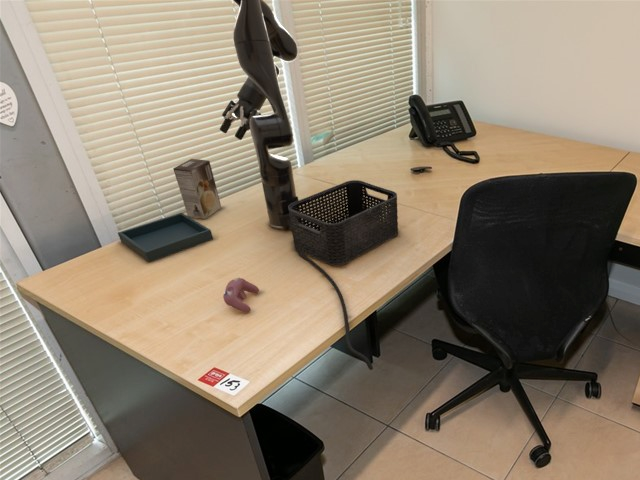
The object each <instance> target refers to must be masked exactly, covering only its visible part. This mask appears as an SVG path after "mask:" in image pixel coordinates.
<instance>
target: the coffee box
mask: <svg viewBox="0 0 640 480" xmlns="http://www.w3.org/2000/svg"><path fill="white" fill-rule="evenodd" d="M172 169H173V172H174V176H175V179H176V183H177V185H178V188H179V192H180V195H181V198H182V201H183V205H184V209H185V211H186V215H187V216H188V217H190V218H193V219H194V218H196V219H202V220H207V218H209V217H210V216H212V215H213V214H214V213H216V212H217V211H219V210H220V209H222V204H221V200H220V195H219V192H218V188H217V184H216V180H215V178H214V173H213V170H212V165H211V162H210V160H209V159H208V160H207V159H200V158H199V159H197V158H190V159H188V160H186V161H184V162H182V163H180V164H178V165H177V166H175V167H173V168H172Z"/></svg>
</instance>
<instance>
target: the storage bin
mask: <svg viewBox="0 0 640 480" xmlns="http://www.w3.org/2000/svg"><path fill="white" fill-rule="evenodd" d="M368 190H370V191H373V192H376V193H379V194H382V195H385V196H387V199H383V198H380V197H377V196H374V195H372V194H369V193H368ZM298 200H299V201H296V202H294V203H291V204H290V205H289V206H288V209H289V213H290V214H289V215H290V219H291V220H290V222H291V226H292V227H291V228H292V232H291V234H292V239H293V247H294V250H295V249H297V250H299V251H300V252H301V253H302V254H303V255H305V256H307V257H310V258H313V259H316V260H317V261H320V262H323V263H325V264H326V265H330V266H335V267H337V266H342V265H343V266H344V265H346V264H348V263H350V262H352V261H354V260H355V259H357V258H358V257H361V256H363V255H364V254H366V253H368V252H369V251H371V250H373V249H375V248H377V247H378V246H381V245H382V244H384V243H386V242H388V241H389V240H391V239H393V238H395V237H397V236H398V235H399V222H398V220H399V216H398V193H397V192H395V191H393V190H391V189H387V188H384V187H381V186H377V185H375V184H371V183H369V182H366V181H363V180H358V179H357V180H356V179H353V180H352V179H351V180H348V181H345V182H342V183H340V184H339V183H338V184H337V185H335V186H332V187H330V188H327V189H324V190H322V191H319V192H317V193H314V194H312V195H309V196H307V197H304V198H301V199H298ZM298 217H299V218H298Z"/></svg>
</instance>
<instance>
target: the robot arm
mask: <svg viewBox="0 0 640 480" xmlns="http://www.w3.org/2000/svg"><path fill="white" fill-rule="evenodd" d="M232 1H233V2H234V3H235V4H236V6H238V8H239V10H238V13H237V17H236V19H235V20H236V21H235V24H234V28H233V33H232V41H233V46H234V50H235V54H236V57H237V62H238V64H239V67H240V68H241V70H242V71H243V72H244V73H245V74H246V76H247V77H246V79H245V81H244V82H243V84H242V86H241V88H240V89H239V91H238V93H237V94H236V96H237V99H238V101H237V102H236V101H234V100H233V99H232V100H230V101H229V103H228V104H227V106H225V107H226V108H225V109H224V110H223V111H222V115H221V116H222V117H223V122H222V124H221V126H220V127H219V131H220V132H222V133H224V134H227V133H228V131H229V129H231V126H232V124H233V123H234V122H235V121H239V120H240V125H239V126H238V129H237V131H236V132H235V134H234V137H235V138H236V139H238V140H240V141H241V140H242V139H243V138H244V137H245V135H246V133H247V131H249V132H250V134H251V139H252V143H253V147H254V150H255V155H256V160H257V165H258V170H259V174H260V175H259V176H260V179H261V180H260V181H261V186H262V189H263V196H264V201H265V205H266V211H267V216H268V219H269V220H268V223H269V226H270V227H271V228H273V229H275V230H284V231H289V230H290V232H291V233H292V228H291V227H292V226H291V222H290V220H291V219H290V215H289V214H290V213H289V209H288V206H289V205H290V204H291V203H294V202H296V201H299V200H300V199H299V196H297V192H296V184H295V177H294V171H293V164H292V162H291V160H290V159H289V158H288V157H284V156H283V155H282V156H281V155H277V154H273V153H271V152H269V150H273V149H275V150H276V149H283V148H289V147H291V146H293V143H294V134H293V130H292V126H291V121H290V118H289V115H288V111H287V107H286V105H285V101H284V98H283V94H282V91H281V87H280V83H279V79H278V77H279V76H280V73H281V70H280V67H279V66H278V64H276V63H275V58H276V59H279V60H281V61H284V62H285V63H291V62H294V61H295V60H296V59H297V57H298V52H299V49H298V44H297V43H296V40H295V39H294V37H293V36H292V35H291V34H290V33H289V31H287V29H286V28H285V27H284V26H283V25H282V24H281V23H280V21H279V20H278V18H277V17H276V15H275V13H274V12H273V10H272V8H271V7H270V6H269V4H267V3H266V2H265V1H264V0H232ZM266 100H267V101H268V103H269V105H270V106H271V107H270V108H271V110H272V112H273V113H268V114H262V113H261V112H260V110H261V109H262V107H263V105H264V104H265V102H266ZM298 218H299V217H298ZM294 250H295V252H296V254H297V255H298V256H300V258H302V259H303V260H305V261H306V262H307V263H309V264H311V266H313V267H314V268H315V269H317V270H318V271H319V272H320V273H321V274H322V275H323V276H324V277H325V278H326V279H327V280H328V282H329V283H330V284H331V285H332V286H333V289H334V290H335V291H336V293H337V296H338V298H339V301H340V305H341V309H342V314H343V320H344V328H345V330H344V331H345V334H344V335H345V343H346V346H347V348H348V350H349V352H350V353H352V354H353V355H354V356H357V357H358V358H360V359H362V360H363V361H364V362H365V364H366V365H367V368H368V370H370V371H372V370H374V366H373V364H372V363H371V361H370V359H369V358H368V357H367V356H366V355H364V354H363V353H361V352H359V351H357V350H355V348H354V347H353V346H352V344H351V340H350V325H349V324H350V323H349V317H348V311H347V306H346V302H345V299H344V297H343V294H342V292H341V291H340V288H339V286H338V285H337V283H336V282H335V281H334V279H333V278H332V277H331V276H330V275H329V274H328V273H327V272H326V270H324V269H323V268H322V267H321V266H319V264H317V263H316V262H315V261H313V260H312V259H311V258H309V256H307V255H306V254H304V253H301V252H300V251H299V250H297V249H295V248H294Z"/></svg>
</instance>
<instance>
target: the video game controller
mask: <svg viewBox="0 0 640 480" xmlns="http://www.w3.org/2000/svg"><path fill="white" fill-rule="evenodd" d="M247 292H248V293H250V294H259V293H260V288H259V287H258V286H257V285H256V284H254V283H252V282H249V281H248V280H246V279H244V278H242V277H236V278H233V279H231V280H230V281H228V283H227V285H226V287H225V291H224V293H223V297H222V298H223V301H224V302H225V304H226V305H227V306H228V307H231V308H233V309H235V310H236V311H238V312H241V313H246V314H248V313H249V314H250V312H251V311H252V309H251V307H250V306H249V304H247V303H245V302H244V301H243V300H246V299H247Z"/></svg>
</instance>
